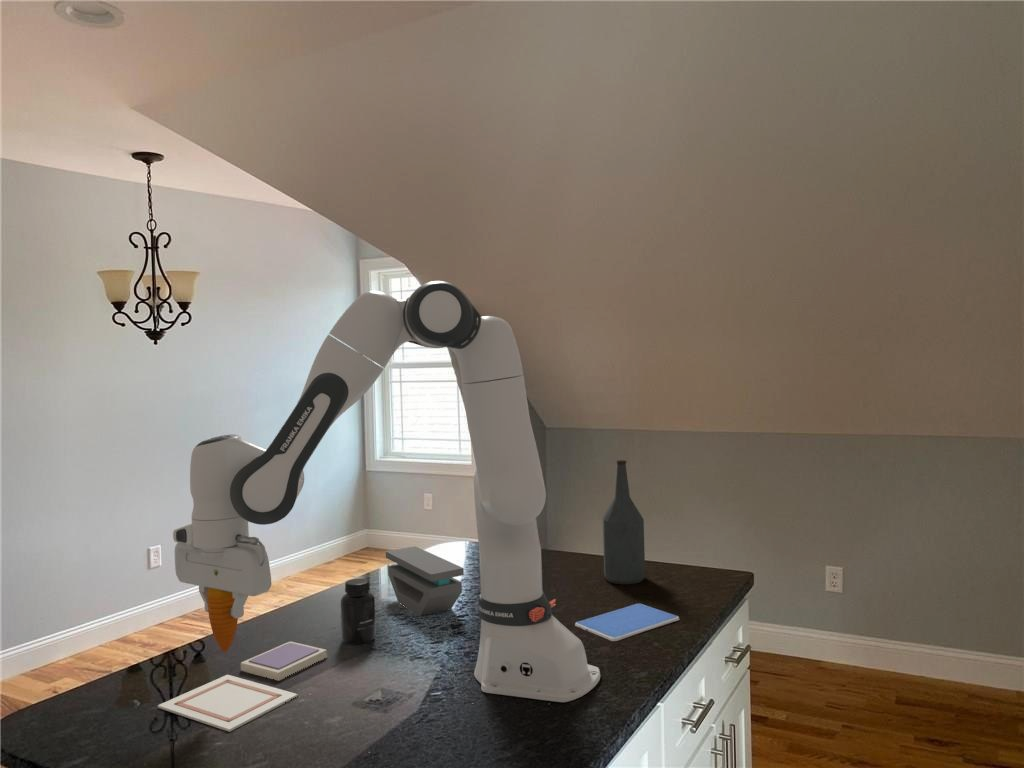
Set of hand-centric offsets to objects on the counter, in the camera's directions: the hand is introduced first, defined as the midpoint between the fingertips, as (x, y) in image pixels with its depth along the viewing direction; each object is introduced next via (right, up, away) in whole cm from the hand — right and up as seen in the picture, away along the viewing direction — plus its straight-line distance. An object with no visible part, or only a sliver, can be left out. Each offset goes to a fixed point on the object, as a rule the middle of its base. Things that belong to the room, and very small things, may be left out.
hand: (224, 614), depth 130 cm
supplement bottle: (+17, -14, +28) cm, 35 cm away
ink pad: (+5, -14, +16) cm, 22 cm away
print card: (0, -15, +1) cm, 15 cm away
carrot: (0, -7, 0) cm, 7 cm away
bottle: (+77, -11, +64) cm, 100 cm away
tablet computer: (+73, -12, +33) cm, 81 cm away
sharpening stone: (+28, -13, +48) cm, 57 cm away
